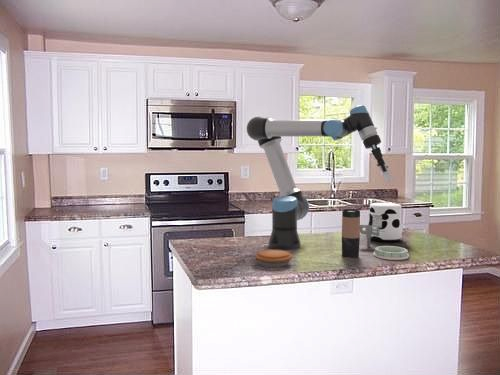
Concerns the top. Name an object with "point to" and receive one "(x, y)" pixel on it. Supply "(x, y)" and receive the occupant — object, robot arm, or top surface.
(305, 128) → the robot arm
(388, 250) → the pale green round dish
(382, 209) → the milk container
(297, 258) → the top surface
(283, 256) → the pie
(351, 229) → the travel mug
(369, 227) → the mechanical component
